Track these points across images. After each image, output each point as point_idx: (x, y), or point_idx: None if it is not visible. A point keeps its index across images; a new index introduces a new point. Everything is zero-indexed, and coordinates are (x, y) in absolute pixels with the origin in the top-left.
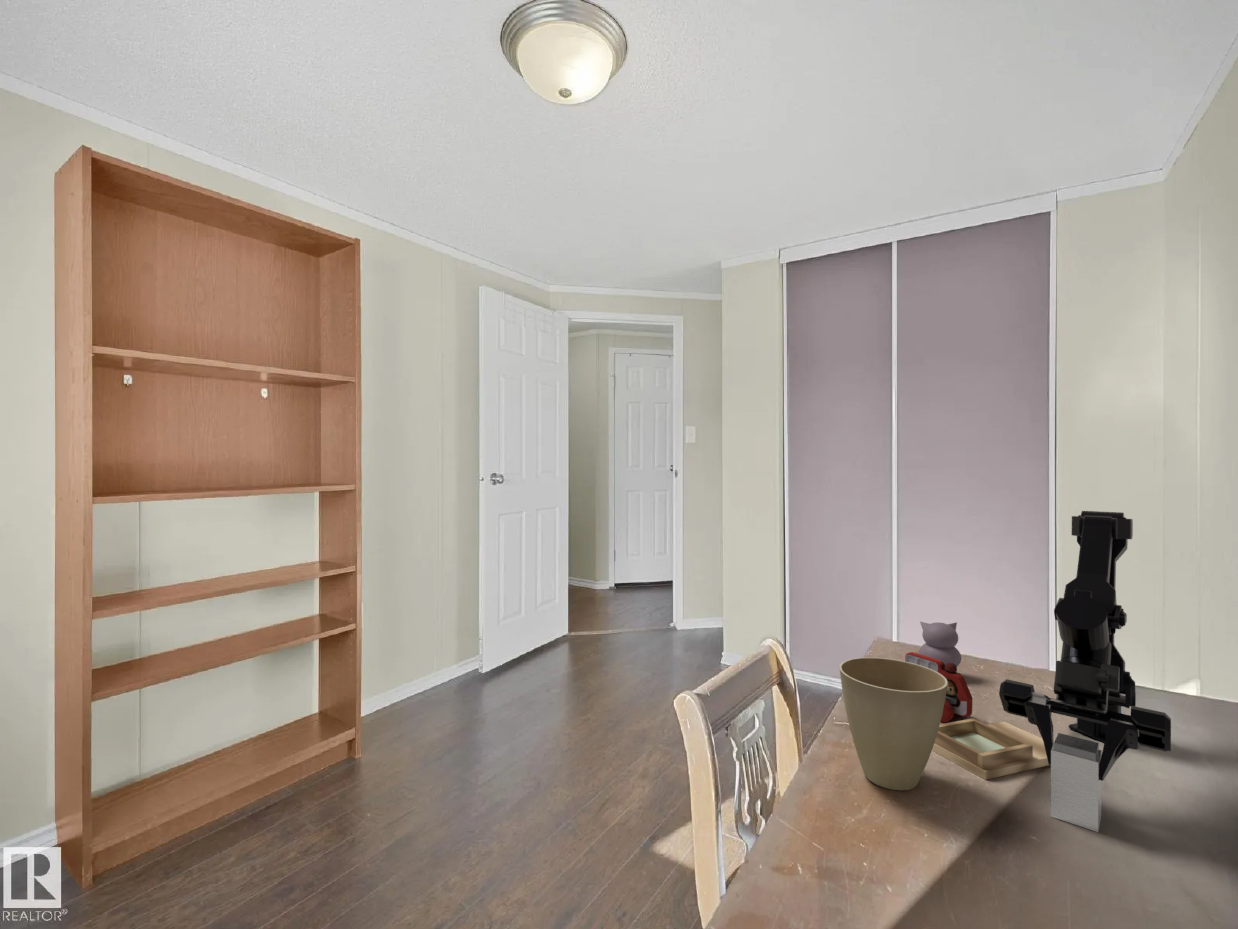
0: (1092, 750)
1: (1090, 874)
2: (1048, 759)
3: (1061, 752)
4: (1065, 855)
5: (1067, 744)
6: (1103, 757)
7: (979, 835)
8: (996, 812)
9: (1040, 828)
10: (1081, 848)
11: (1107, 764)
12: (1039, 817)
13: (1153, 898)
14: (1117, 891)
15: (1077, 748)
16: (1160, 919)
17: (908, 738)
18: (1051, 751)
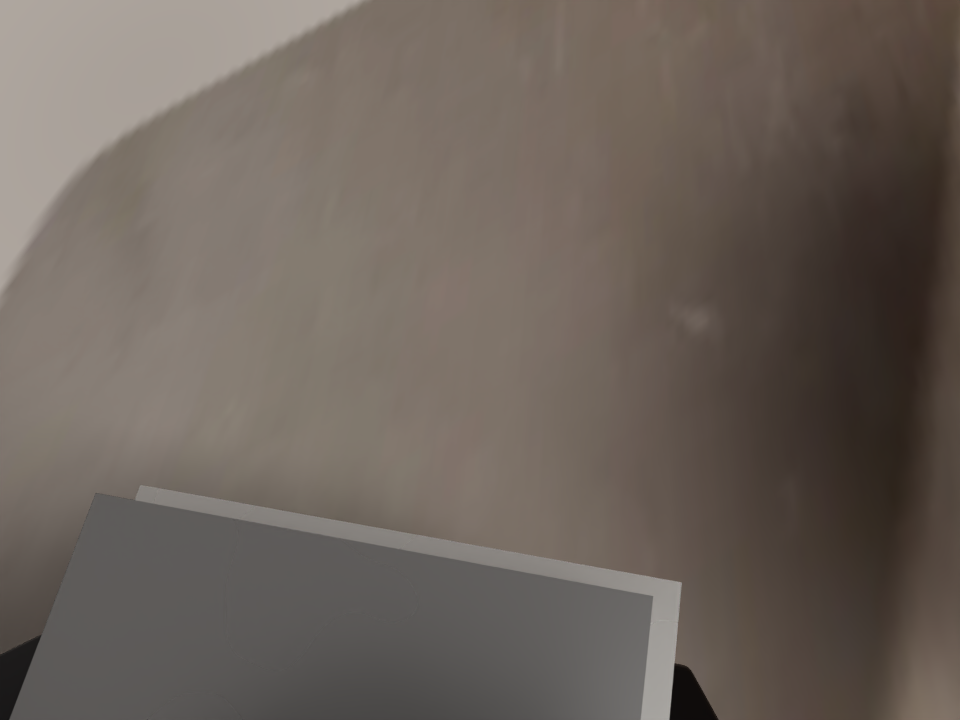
0: (103, 592)
1: (470, 161)
2: (691, 679)
3: (544, 562)
4: (557, 245)
5: (442, 645)
6: (12, 698)
7: (940, 183)
8: (926, 489)
9: (671, 440)
10: (482, 351)
11: (36, 639)
12: (683, 582)
13: (276, 140)
14: (391, 110)
15: (312, 550)
16: (291, 40)
17: None
18: (673, 582)
